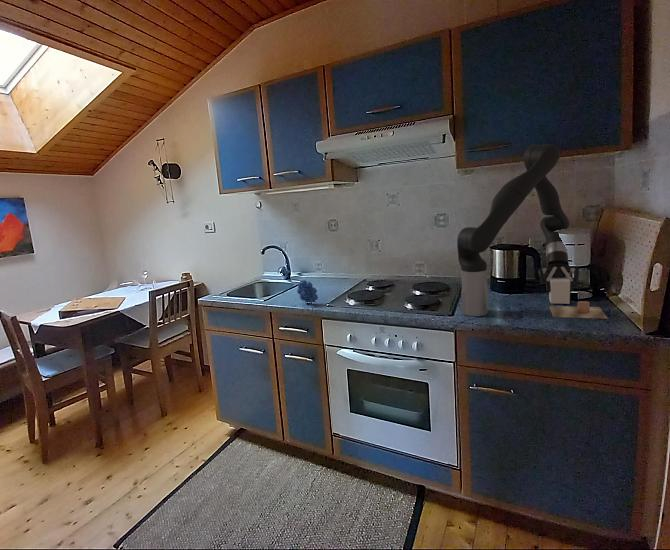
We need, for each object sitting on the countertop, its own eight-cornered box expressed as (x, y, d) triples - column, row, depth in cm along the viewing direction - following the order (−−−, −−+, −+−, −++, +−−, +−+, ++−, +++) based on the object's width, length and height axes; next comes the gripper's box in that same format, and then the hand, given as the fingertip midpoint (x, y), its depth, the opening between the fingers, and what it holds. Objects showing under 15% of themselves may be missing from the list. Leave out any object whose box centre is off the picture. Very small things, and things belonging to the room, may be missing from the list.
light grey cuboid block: (550, 303, 147) (551, 281, 146) (549, 298, 153) (549, 278, 151) (569, 303, 145) (570, 281, 143) (567, 299, 150) (567, 278, 149)
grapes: (293, 306, 187) (290, 282, 184) (301, 302, 192) (299, 278, 190) (313, 307, 180) (310, 282, 178) (321, 303, 186) (318, 279, 184)
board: (552, 319, 135) (552, 316, 135) (549, 308, 146) (549, 306, 146) (607, 321, 128) (607, 318, 128) (599, 309, 140) (599, 307, 140)
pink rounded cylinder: (578, 313, 135) (578, 303, 135) (576, 310, 139) (576, 301, 138) (590, 313, 134) (590, 304, 133) (588, 310, 137) (588, 301, 136)
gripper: (537, 250, 155) (539, 286, 147) (579, 249, 149) (583, 286, 141) (536, 261, 161) (538, 296, 152) (576, 260, 155) (580, 296, 146)
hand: (559, 291), depth 147 cm, fingers closed on light grey cuboid block, 6 cm apart
